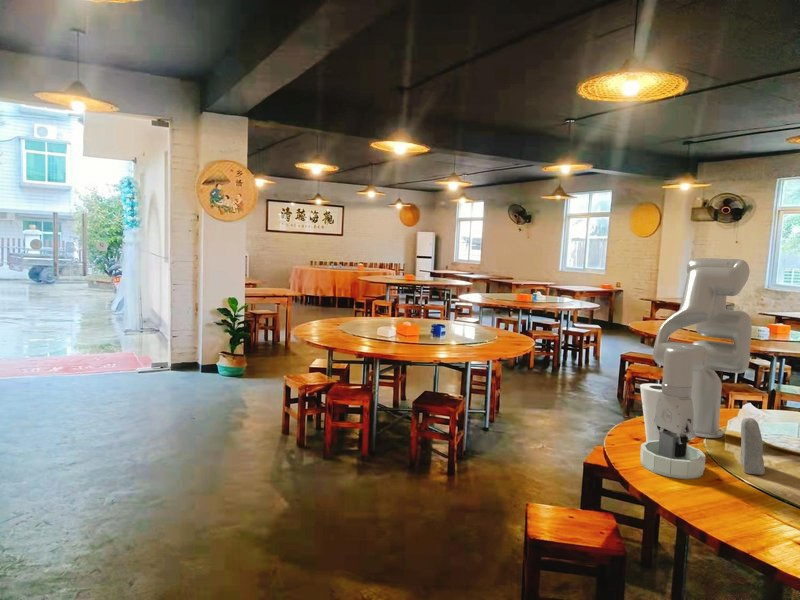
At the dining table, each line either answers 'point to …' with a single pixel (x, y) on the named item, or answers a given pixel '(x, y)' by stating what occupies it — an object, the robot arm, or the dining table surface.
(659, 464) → the bowl
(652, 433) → the cup
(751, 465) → the decorative stone
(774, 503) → the dining table surface
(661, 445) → the matte grey cube
